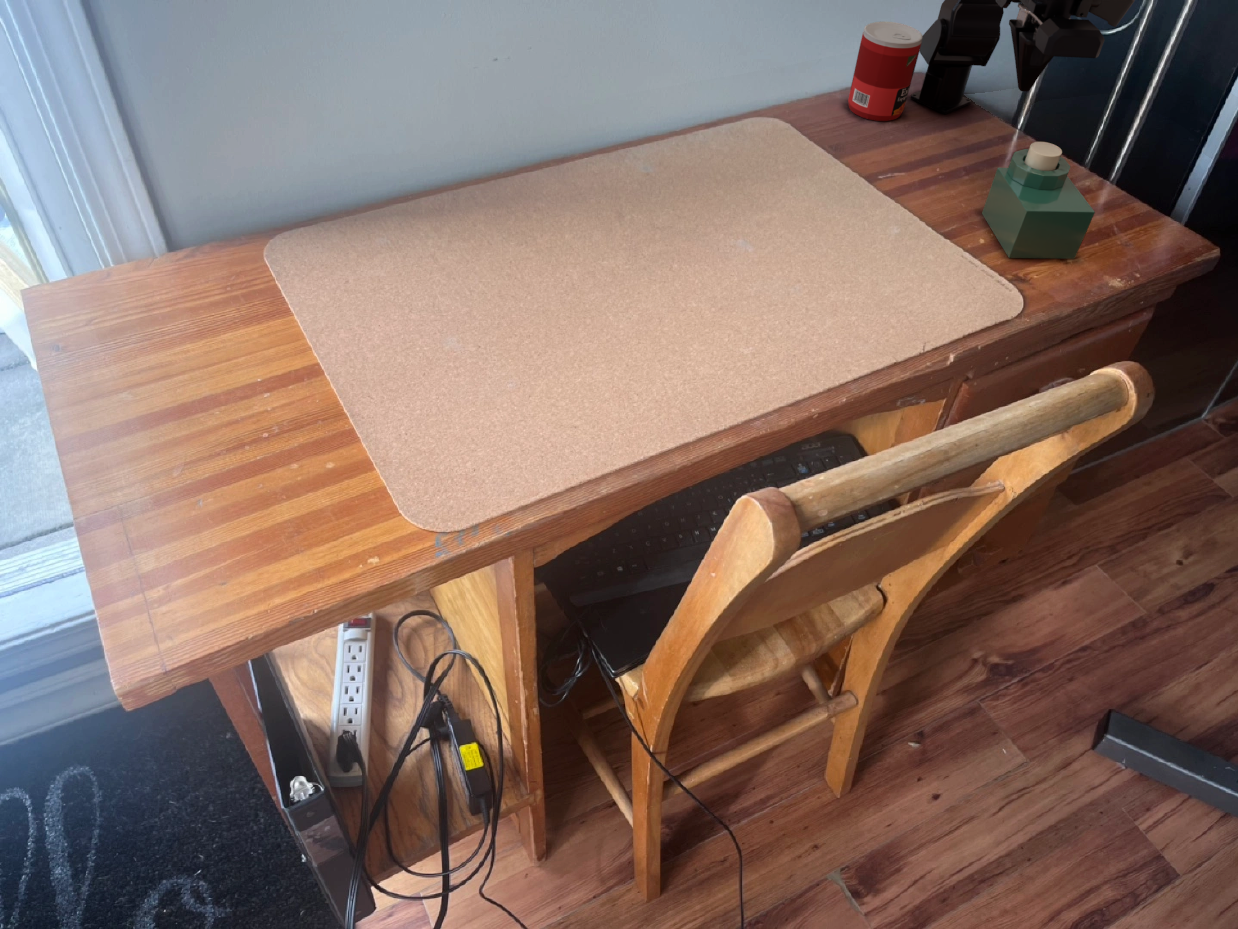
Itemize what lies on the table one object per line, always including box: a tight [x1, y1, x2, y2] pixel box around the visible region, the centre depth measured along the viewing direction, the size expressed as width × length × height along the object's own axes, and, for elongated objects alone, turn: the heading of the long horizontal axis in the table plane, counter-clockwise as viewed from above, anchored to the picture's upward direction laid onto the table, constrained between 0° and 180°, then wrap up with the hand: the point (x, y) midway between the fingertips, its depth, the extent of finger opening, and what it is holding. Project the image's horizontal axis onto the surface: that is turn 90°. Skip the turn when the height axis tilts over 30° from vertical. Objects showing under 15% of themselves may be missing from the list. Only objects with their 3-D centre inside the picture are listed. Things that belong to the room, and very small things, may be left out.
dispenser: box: [981, 148, 1096, 260], centre depth 116 cm, size 11×8×8 cm
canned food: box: [847, 21, 923, 122], centre depth 137 cm, size 8×8×11 cm
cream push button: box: [1024, 141, 1063, 171], centre depth 114 cm, size 4×4×2 cm
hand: (1023, 90), depth 119 cm, fingers closed
